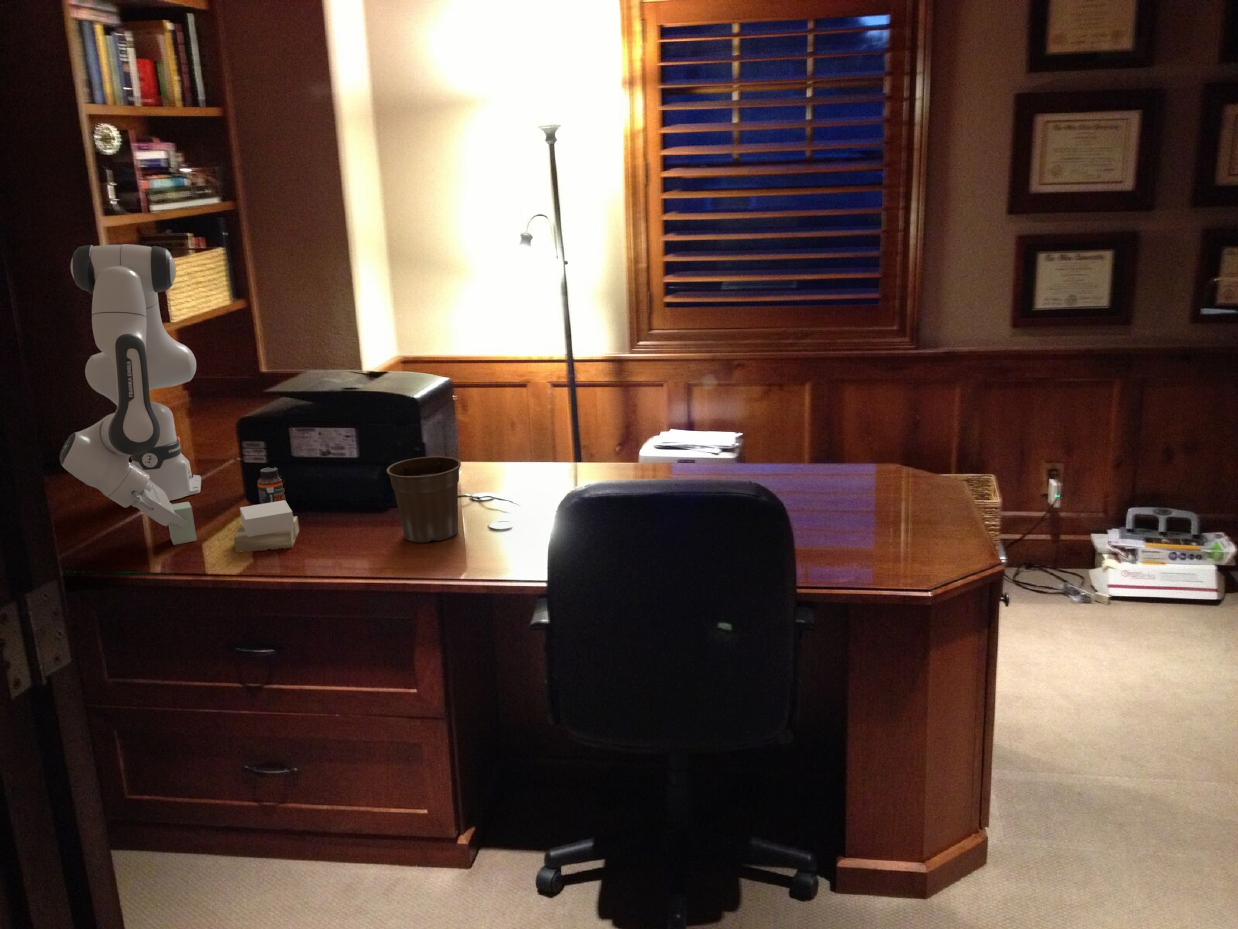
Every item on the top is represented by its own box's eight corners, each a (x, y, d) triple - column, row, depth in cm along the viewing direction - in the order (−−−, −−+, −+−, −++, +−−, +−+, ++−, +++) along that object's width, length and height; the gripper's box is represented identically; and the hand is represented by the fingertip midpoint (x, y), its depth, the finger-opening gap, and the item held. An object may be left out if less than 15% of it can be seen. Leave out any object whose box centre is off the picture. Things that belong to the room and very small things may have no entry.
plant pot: (379, 543, 245) (371, 473, 241) (417, 520, 260) (411, 453, 255) (443, 550, 239) (437, 478, 235) (479, 526, 254) (473, 458, 249)
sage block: (170, 538, 254) (165, 505, 252) (193, 534, 256) (188, 501, 254) (173, 544, 250) (168, 511, 248) (196, 540, 252) (191, 507, 250)
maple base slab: (246, 537, 255) (243, 520, 254) (299, 532, 256) (297, 515, 255) (236, 554, 243) (234, 537, 242) (292, 549, 245) (290, 532, 244)
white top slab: (242, 524, 251) (239, 507, 250) (287, 516, 255) (285, 500, 254) (247, 537, 242) (245, 519, 241) (294, 528, 246) (292, 511, 245)
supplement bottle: (279, 518, 265) (273, 473, 262) (257, 517, 266) (250, 472, 263) (291, 510, 271) (285, 466, 268) (269, 509, 272) (263, 465, 269)
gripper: (144, 487, 237) (199, 521, 244) (135, 465, 254) (186, 498, 261) (125, 510, 236) (180, 545, 243) (117, 487, 253) (169, 520, 260)
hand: (183, 520), depth 252 cm, fingers closed on sage block, 5 cm apart
